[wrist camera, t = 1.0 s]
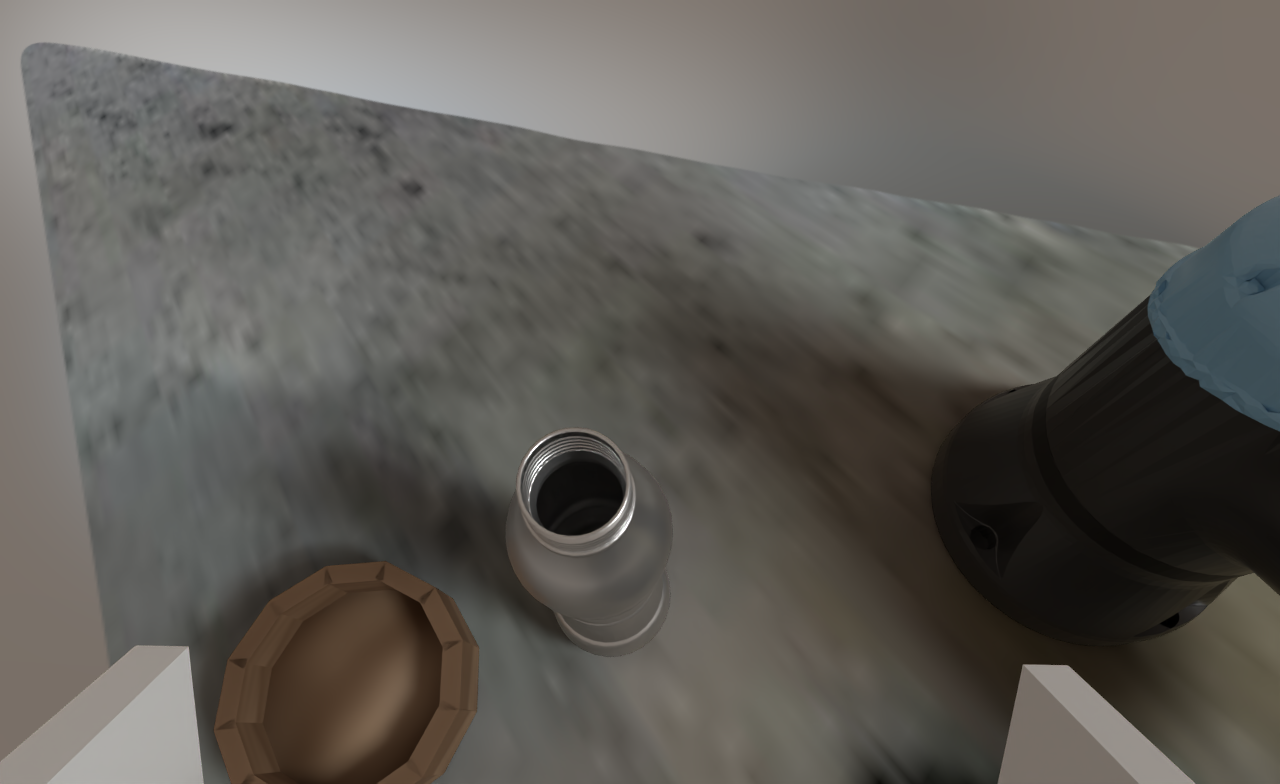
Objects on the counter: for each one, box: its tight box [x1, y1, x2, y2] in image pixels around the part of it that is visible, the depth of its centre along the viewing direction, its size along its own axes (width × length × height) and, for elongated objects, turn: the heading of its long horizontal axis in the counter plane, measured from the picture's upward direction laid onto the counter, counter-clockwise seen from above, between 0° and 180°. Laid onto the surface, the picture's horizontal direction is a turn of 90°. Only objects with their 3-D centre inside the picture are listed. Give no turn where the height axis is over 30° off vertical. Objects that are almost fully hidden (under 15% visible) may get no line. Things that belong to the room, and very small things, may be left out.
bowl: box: [214, 561, 479, 784], centre depth 34 cm, size 12×12×4 cm
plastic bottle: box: [505, 427, 673, 657], centre depth 29 cm, size 6×7×20 cm
